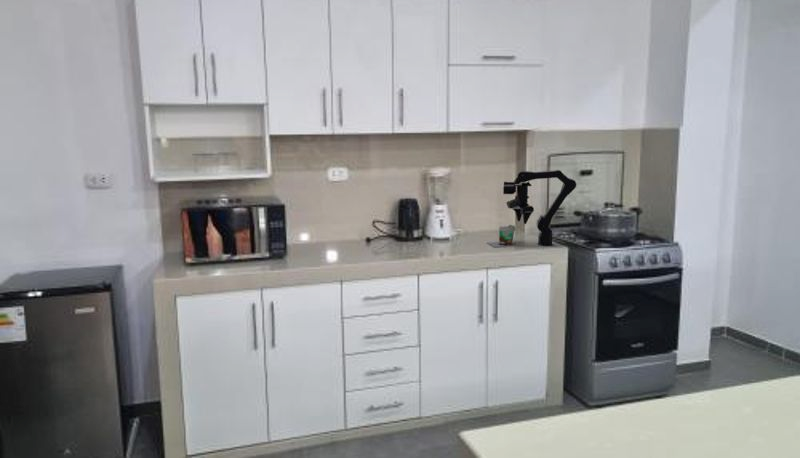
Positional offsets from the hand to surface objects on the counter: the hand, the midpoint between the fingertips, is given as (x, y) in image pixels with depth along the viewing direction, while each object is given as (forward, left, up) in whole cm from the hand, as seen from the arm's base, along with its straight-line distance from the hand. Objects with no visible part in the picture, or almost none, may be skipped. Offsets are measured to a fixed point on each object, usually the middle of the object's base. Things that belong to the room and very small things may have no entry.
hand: (521, 222), depth 322 cm
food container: (+8, 0, -12) cm, 14 cm away
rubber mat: (+14, 0, -12) cm, 19 cm away
